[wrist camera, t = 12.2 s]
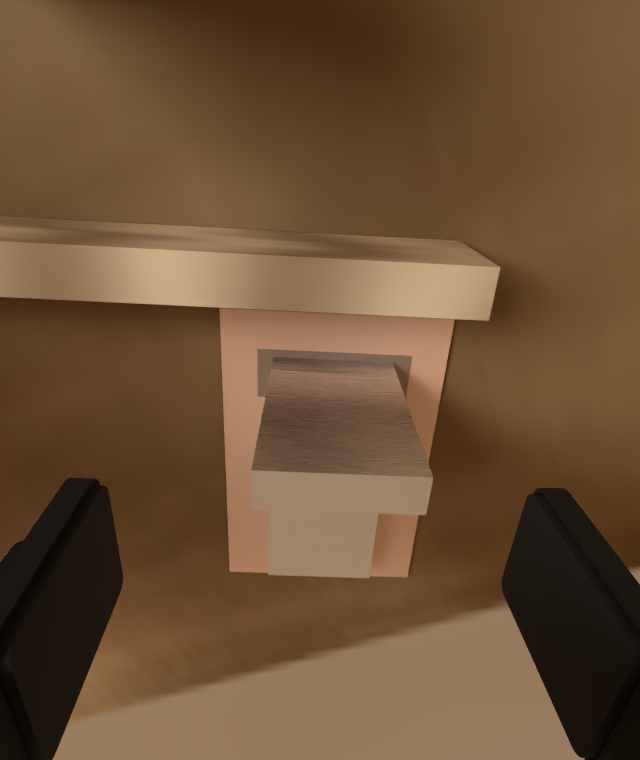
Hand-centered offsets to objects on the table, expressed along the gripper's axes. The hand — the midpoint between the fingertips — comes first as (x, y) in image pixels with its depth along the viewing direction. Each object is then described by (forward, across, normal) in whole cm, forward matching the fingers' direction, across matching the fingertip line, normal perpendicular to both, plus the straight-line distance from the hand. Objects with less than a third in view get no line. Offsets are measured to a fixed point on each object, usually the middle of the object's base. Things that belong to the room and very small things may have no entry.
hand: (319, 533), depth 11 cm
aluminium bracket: (+8, -1, +4) cm, 10 cm away
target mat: (+9, -1, +4) cm, 10 cm away
